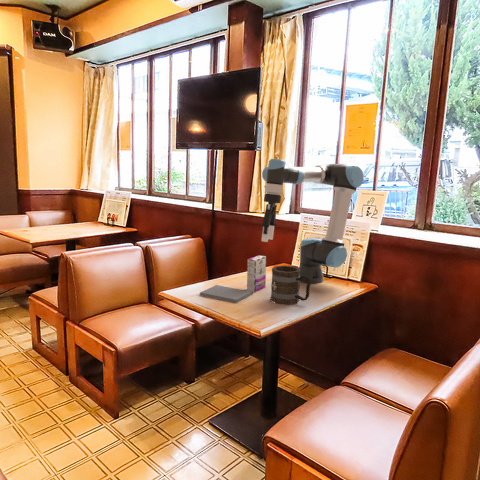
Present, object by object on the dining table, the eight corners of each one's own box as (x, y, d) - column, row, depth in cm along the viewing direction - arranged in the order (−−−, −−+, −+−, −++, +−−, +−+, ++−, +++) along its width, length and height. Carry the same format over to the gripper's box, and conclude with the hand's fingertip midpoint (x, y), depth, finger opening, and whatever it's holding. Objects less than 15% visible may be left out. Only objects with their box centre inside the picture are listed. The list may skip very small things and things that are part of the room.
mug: (264, 300, 188) (265, 268, 186) (281, 293, 198) (282, 264, 196) (300, 310, 176) (302, 277, 173) (316, 303, 186) (318, 271, 183)
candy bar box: (257, 285, 211) (258, 255, 208) (265, 287, 208) (266, 256, 205) (246, 291, 202) (247, 258, 199) (254, 292, 199) (255, 260, 196)
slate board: (251, 294, 196) (251, 291, 196) (236, 302, 183) (236, 299, 183) (216, 287, 205) (216, 285, 205) (199, 295, 192) (199, 292, 192)
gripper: (269, 194, 196) (264, 237, 198) (259, 191, 171) (253, 241, 174) (285, 195, 194) (279, 239, 196) (277, 193, 170) (270, 243, 172)
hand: (267, 240), depth 185 cm, fingers open, 13 cm apart
